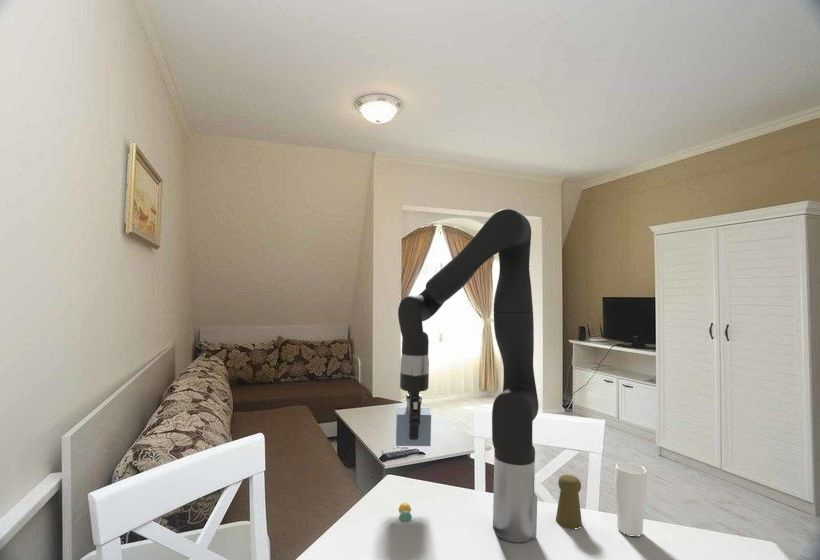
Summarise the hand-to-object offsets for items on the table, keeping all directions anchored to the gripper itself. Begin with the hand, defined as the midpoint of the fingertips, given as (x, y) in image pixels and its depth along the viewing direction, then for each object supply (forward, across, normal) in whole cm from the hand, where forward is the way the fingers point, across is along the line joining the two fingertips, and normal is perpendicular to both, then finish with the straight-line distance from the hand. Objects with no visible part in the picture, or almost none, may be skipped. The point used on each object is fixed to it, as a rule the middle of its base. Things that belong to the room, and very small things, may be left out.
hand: (412, 434), depth 113 cm
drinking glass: (+18, +14, +51) cm, 56 cm away
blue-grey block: (+2, 0, 0) cm, 2 cm away
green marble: (+16, +11, -2) cm, 19 cm away
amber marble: (+16, +7, -2) cm, 18 cm away
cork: (+18, +10, +38) cm, 43 cm away
